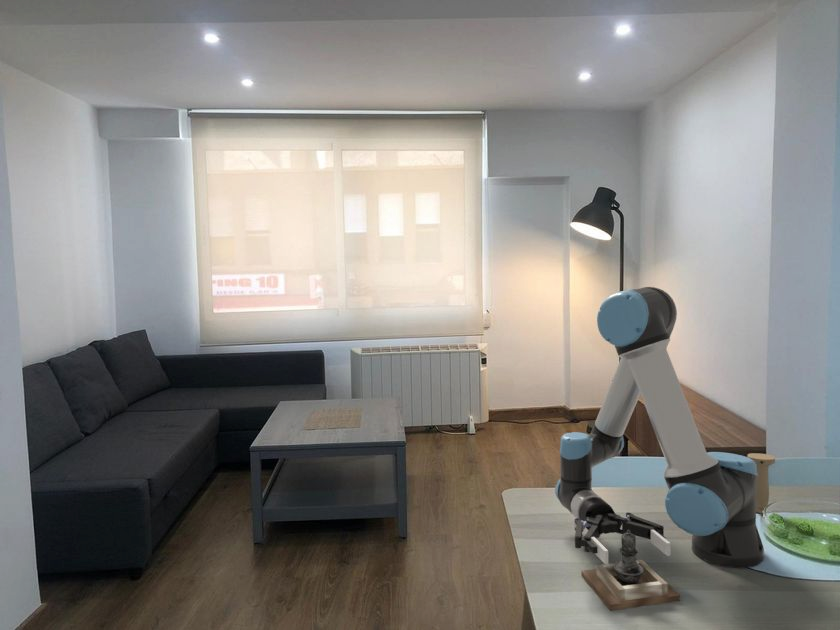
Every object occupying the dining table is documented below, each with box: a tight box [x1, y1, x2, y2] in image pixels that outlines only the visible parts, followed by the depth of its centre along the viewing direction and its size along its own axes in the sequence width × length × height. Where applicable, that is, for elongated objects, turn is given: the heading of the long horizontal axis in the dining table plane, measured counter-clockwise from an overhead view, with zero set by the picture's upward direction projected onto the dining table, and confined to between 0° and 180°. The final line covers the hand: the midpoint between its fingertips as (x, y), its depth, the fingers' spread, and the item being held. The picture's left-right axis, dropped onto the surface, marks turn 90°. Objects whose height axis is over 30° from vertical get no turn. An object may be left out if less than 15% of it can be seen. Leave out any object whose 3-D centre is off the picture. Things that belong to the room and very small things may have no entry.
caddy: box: [580, 559, 681, 612], centre depth 140 cm, size 15×14×4 cm
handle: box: [746, 452, 776, 514], centre depth 174 cm, size 5×6×15 cm
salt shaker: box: [614, 529, 643, 586], centre depth 139 cm, size 6×6×12 cm
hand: (637, 553), depth 135 cm, fingers open, 13 cm apart
